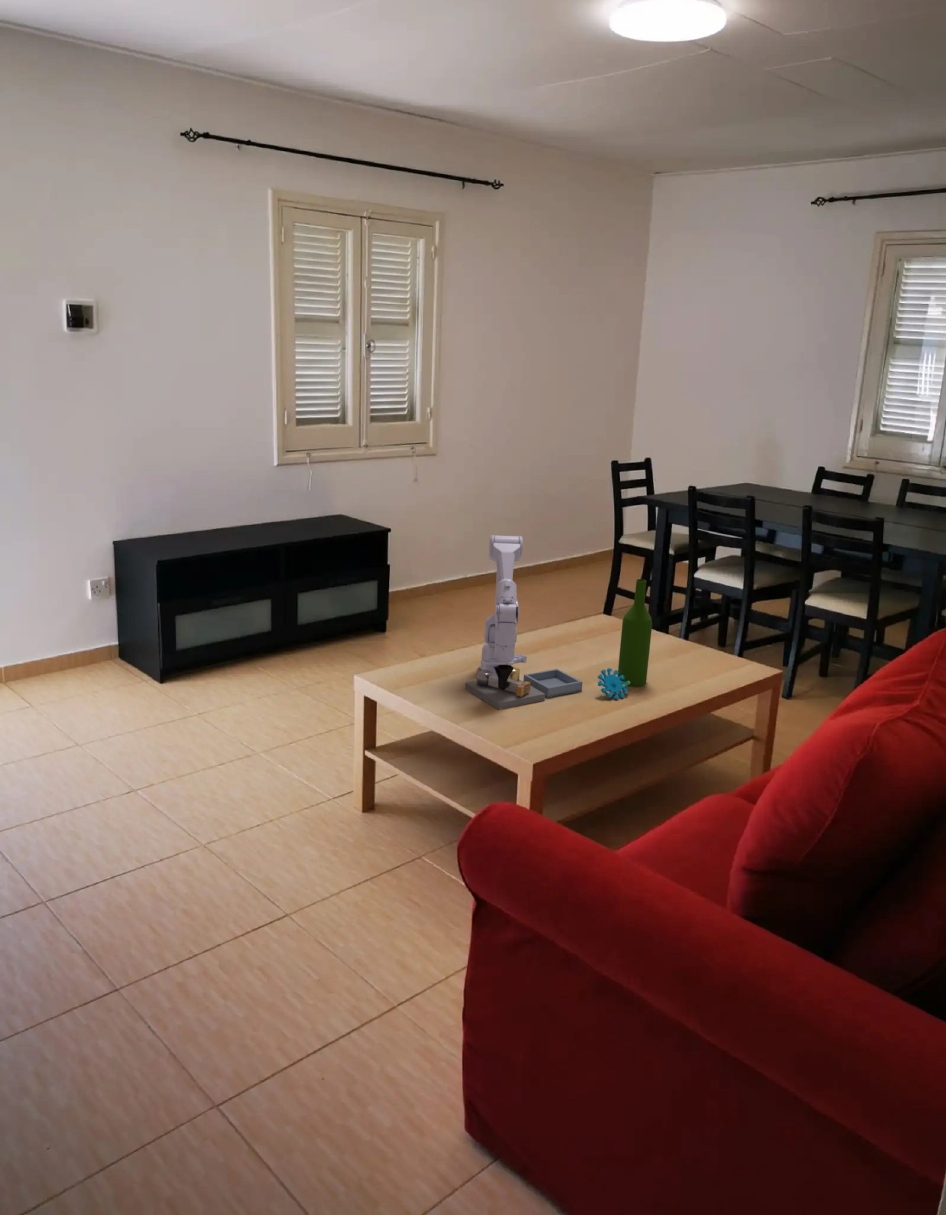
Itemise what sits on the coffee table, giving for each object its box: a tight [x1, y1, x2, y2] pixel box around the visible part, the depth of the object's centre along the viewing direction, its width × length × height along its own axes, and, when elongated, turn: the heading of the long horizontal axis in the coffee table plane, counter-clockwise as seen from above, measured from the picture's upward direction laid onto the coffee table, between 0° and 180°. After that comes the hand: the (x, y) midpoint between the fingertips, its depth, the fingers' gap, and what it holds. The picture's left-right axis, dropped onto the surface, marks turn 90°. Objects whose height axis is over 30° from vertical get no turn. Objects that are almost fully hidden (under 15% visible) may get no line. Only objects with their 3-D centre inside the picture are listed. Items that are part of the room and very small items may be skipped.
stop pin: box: [508, 666, 521, 682], centre depth 280 cm, size 4×4×6 cm
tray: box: [522, 668, 583, 699], centre depth 284 cm, size 13×13×3 cm
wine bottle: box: [616, 578, 653, 688], centre depth 288 cm, size 9×9×32 cm
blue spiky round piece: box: [597, 667, 630, 700], centre depth 281 cm, size 11×6×10 cm
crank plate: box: [465, 678, 546, 710], centre depth 277 cm, size 18×16×2 cm
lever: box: [476, 669, 531, 697], centre depth 275 cm, size 16×5×4 cm, turn 57°
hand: (502, 688), depth 273 cm, fingers closed, pressing on lever
